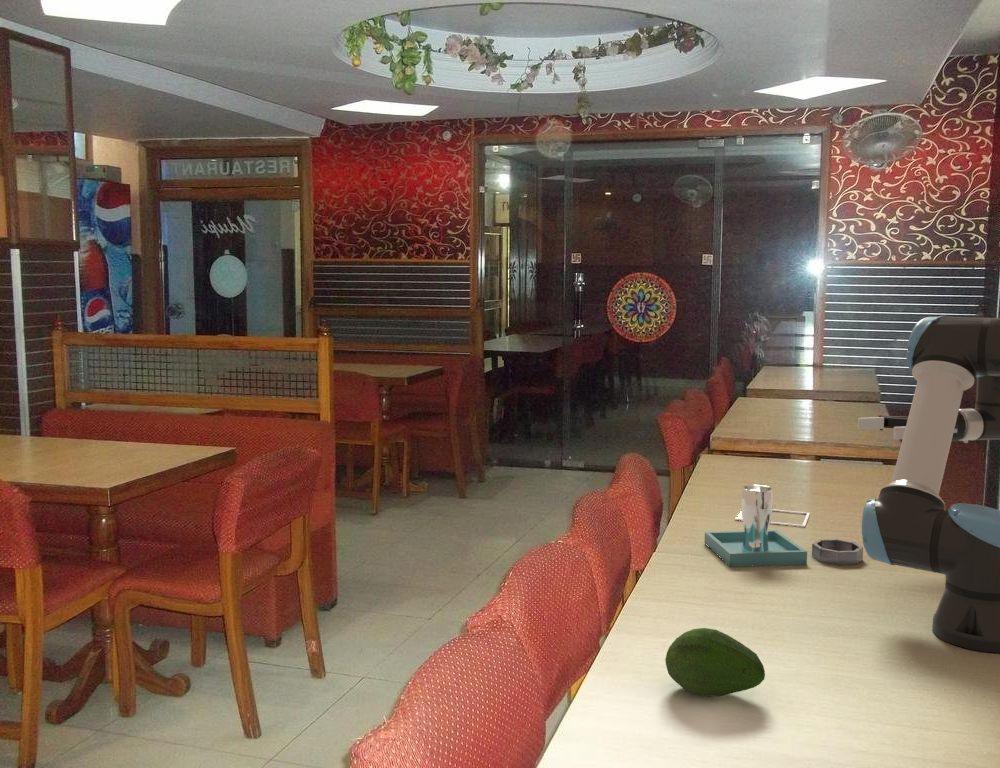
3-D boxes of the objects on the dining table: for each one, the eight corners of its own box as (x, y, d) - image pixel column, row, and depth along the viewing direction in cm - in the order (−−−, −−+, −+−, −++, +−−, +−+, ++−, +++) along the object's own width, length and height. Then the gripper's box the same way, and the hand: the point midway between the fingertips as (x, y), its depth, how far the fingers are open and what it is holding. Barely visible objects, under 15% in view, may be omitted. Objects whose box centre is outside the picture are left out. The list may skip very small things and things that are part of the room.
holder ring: (869, 564, 211) (869, 551, 211) (825, 565, 210) (825, 552, 210) (848, 551, 221) (848, 538, 221) (806, 552, 220) (806, 539, 220)
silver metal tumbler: (737, 552, 217) (739, 489, 215) (743, 544, 223) (745, 483, 221) (767, 556, 213) (769, 492, 212) (773, 548, 220) (775, 486, 218)
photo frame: (742, 505, 262) (809, 512, 255) (742, 509, 262) (809, 516, 255) (734, 517, 249) (805, 525, 242) (734, 522, 249) (804, 529, 242)
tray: (806, 564, 211) (807, 551, 211) (729, 566, 209) (729, 553, 209) (775, 542, 229) (776, 530, 228) (704, 544, 227) (704, 532, 227)
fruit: (768, 690, 147) (771, 629, 146) (757, 716, 138) (760, 652, 137) (674, 672, 153) (675, 614, 152) (658, 697, 144) (659, 635, 143)
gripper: (993, 450, 207) (909, 454, 203) (920, 432, 232) (844, 435, 227) (996, 417, 207) (911, 420, 202) (922, 402, 231) (845, 404, 226)
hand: (875, 428), depth 215 cm, fingers open, 13 cm apart
